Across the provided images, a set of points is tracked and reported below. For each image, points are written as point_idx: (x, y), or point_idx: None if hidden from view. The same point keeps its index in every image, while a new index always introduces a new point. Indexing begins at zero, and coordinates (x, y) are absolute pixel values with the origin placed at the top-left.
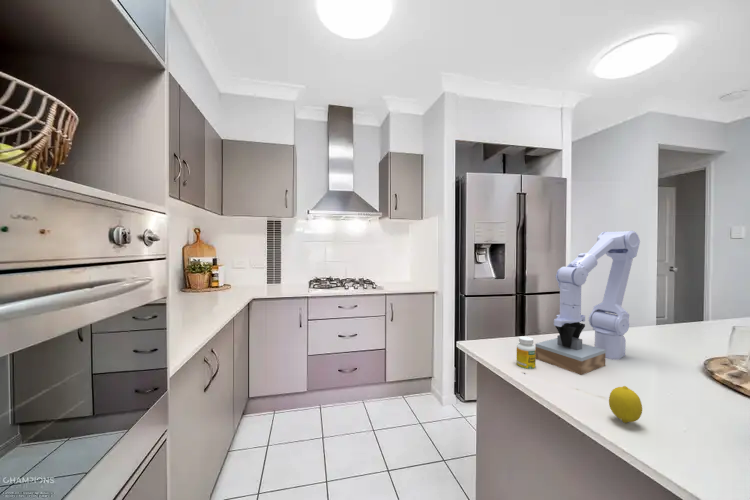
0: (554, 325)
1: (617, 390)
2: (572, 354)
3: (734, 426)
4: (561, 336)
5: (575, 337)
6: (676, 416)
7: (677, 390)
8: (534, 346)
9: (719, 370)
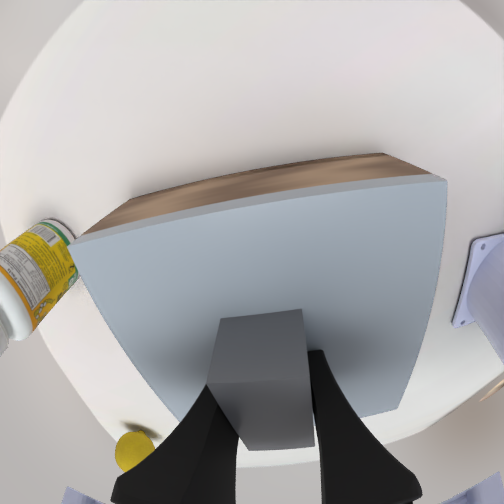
0: (69, 487)
1: (118, 465)
2: (175, 410)
3: (288, 462)
4: (193, 419)
5: (317, 429)
6: (240, 450)
7: (368, 425)
8: (20, 337)
9: None
